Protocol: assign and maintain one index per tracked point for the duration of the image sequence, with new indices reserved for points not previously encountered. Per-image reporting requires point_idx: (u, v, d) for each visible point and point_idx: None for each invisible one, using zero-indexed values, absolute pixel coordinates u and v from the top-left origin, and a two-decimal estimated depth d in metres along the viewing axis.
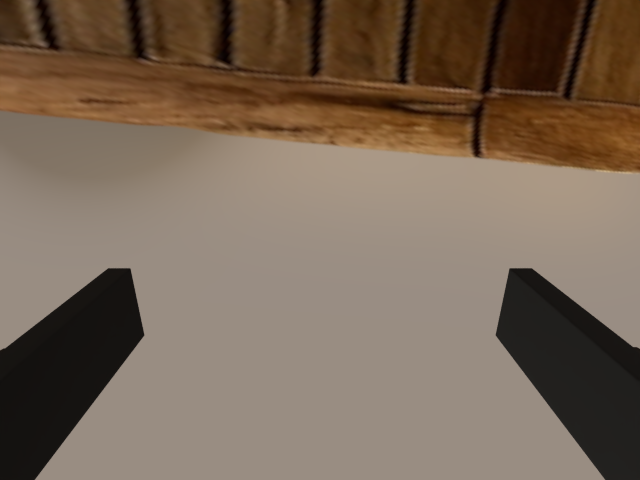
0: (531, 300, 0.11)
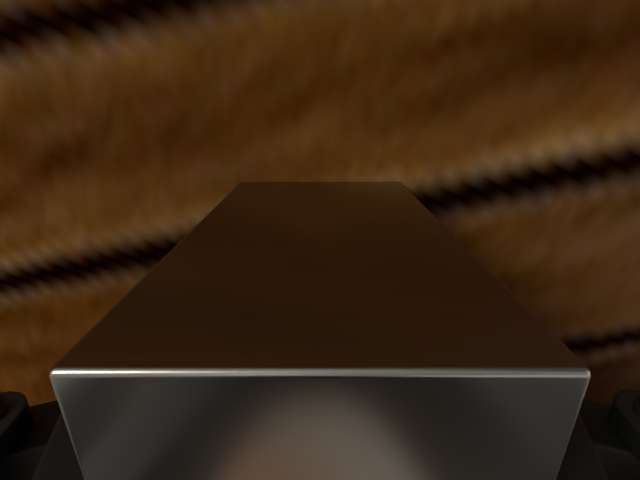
0: None
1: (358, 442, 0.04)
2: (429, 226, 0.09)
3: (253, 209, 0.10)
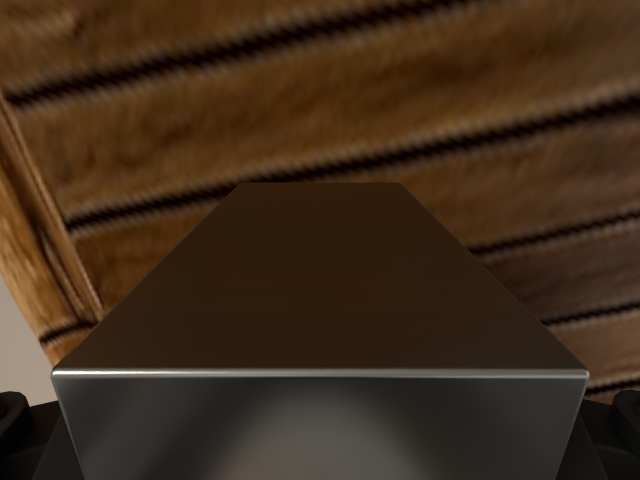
0: None
1: (358, 443, 0.04)
2: (429, 227, 0.09)
3: (254, 210, 0.10)
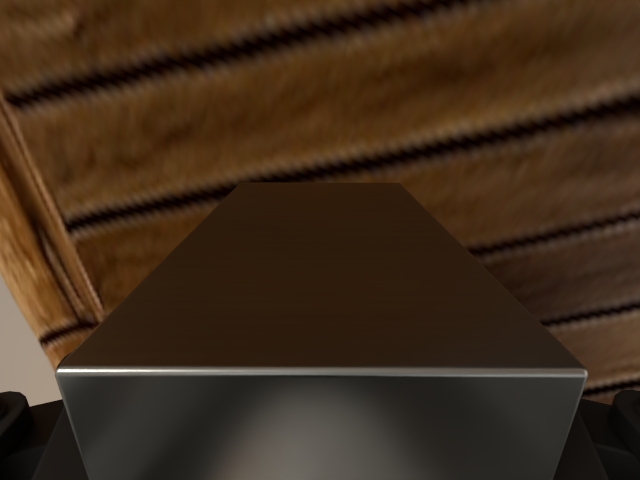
0: None
1: (358, 440, 0.04)
2: (429, 227, 0.09)
3: (254, 209, 0.10)
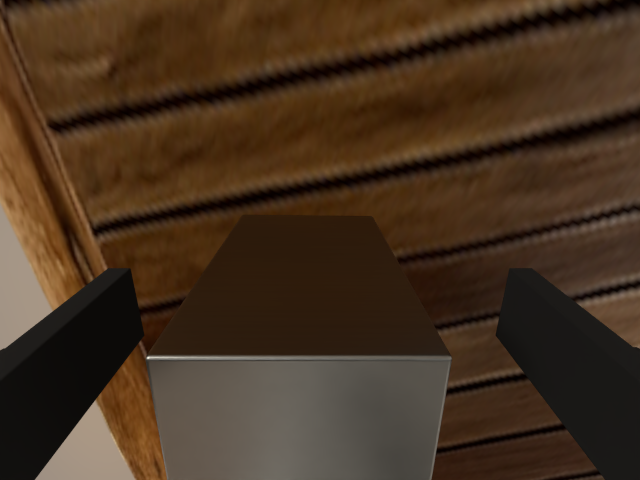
0: (531, 300, 0.11)
1: (322, 400, 0.07)
2: (385, 259, 0.12)
3: (255, 242, 0.13)
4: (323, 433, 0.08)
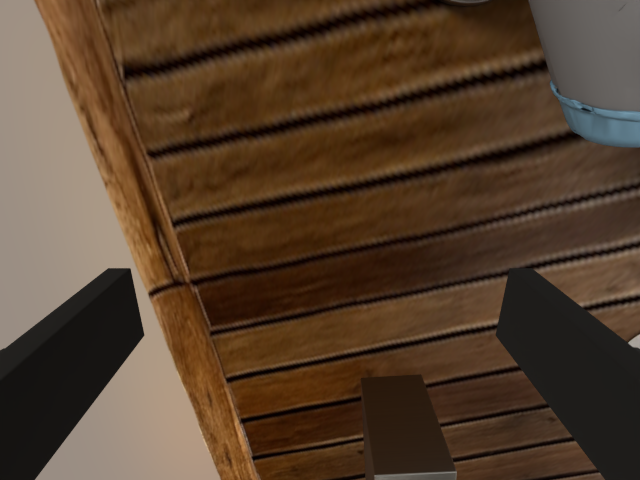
0: (531, 300, 0.11)
1: None
2: (432, 417, 0.31)
3: (378, 406, 0.33)
4: None
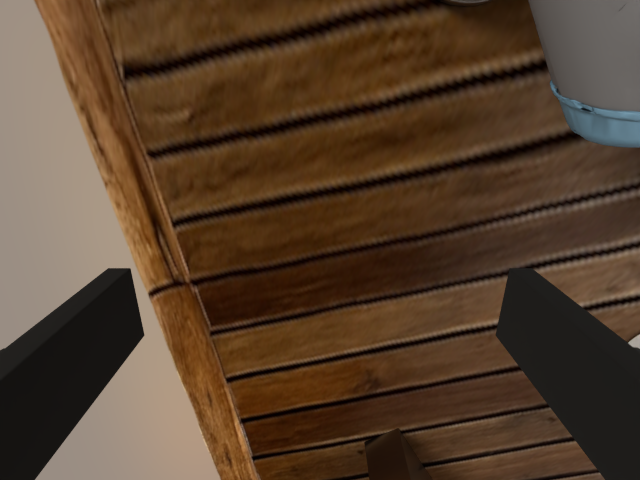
0: (531, 300, 0.11)
1: None
2: (403, 459, 0.53)
3: (374, 461, 0.55)
4: None
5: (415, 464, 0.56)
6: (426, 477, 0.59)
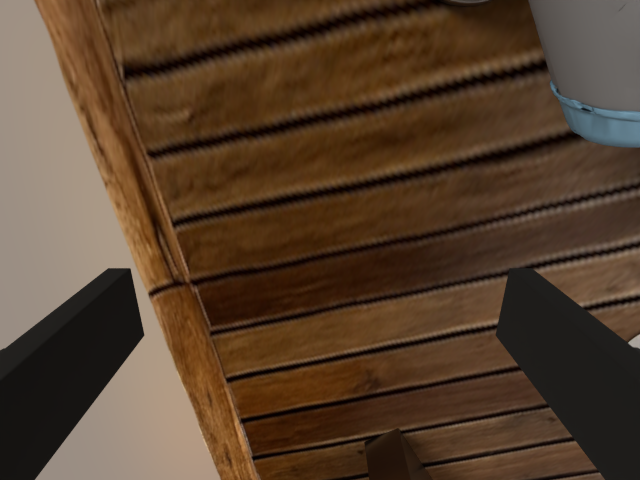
0: (531, 300, 0.11)
1: None
2: (403, 459, 0.53)
3: (374, 461, 0.55)
4: None
5: (415, 464, 0.56)
6: (426, 477, 0.59)
